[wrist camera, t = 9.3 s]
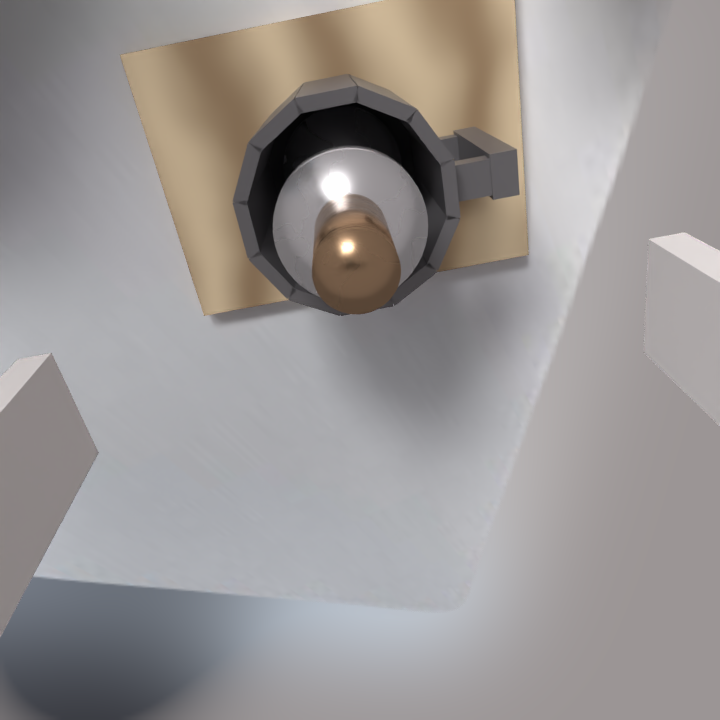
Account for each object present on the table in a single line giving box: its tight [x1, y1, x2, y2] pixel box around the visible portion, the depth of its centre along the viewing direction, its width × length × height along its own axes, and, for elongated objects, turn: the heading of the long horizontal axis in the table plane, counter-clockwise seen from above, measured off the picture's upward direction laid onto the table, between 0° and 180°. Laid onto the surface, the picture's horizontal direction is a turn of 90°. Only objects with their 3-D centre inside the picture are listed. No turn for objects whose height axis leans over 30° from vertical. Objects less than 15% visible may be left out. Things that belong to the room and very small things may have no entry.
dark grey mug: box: [233, 74, 520, 316], centre depth 32 cm, size 12×10×12 cm
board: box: [120, 0, 529, 316], centre depth 38 cm, size 22×16×1 cm
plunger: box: [273, 105, 428, 314], centre depth 28 cm, size 7×7×19 cm
